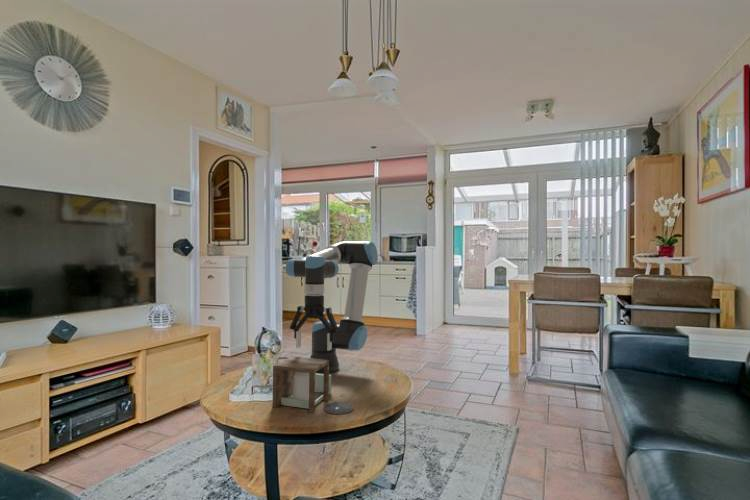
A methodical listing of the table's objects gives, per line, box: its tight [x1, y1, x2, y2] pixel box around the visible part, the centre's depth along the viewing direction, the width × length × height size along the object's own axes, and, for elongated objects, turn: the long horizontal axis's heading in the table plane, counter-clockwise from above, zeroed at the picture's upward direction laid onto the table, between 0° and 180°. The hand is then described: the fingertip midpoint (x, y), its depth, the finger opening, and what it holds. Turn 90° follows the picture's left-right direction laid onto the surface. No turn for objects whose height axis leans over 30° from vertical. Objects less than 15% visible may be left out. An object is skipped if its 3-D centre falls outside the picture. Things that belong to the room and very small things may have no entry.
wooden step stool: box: [271, 355, 330, 414], centre depth 155 cm, size 14×16×15 cm
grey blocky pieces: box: [280, 372, 332, 410], centre depth 160 cm, size 20×12×7 cm, turn 163°
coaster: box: [323, 401, 355, 415], centre depth 150 cm, size 11×11×1 cm
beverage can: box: [293, 371, 309, 401], centre depth 156 cm, size 8×8×12 cm
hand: (313, 348), depth 164 cm, fingers open, 13 cm apart
